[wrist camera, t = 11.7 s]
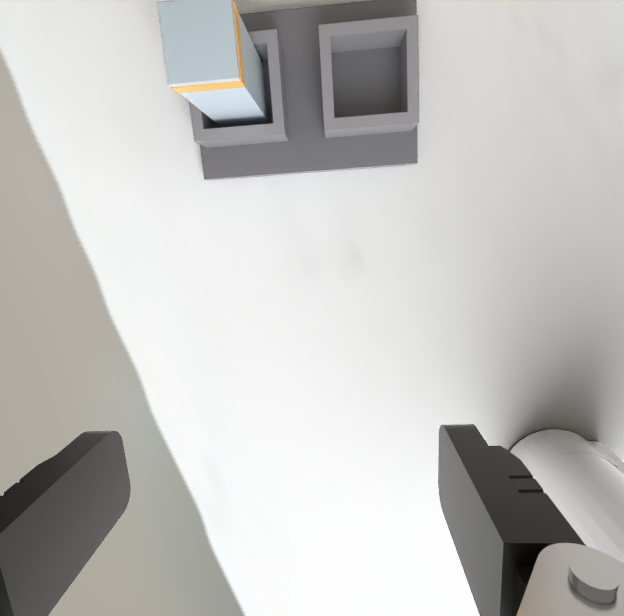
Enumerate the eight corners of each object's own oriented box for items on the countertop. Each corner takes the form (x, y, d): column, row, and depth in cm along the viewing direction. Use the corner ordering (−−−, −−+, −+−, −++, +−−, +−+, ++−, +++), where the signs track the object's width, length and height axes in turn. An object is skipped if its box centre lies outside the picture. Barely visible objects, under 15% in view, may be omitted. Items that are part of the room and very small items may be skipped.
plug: (265, 68, 32) (231, -7, 21) (270, 123, 32) (239, 78, 22) (215, 73, 32) (155, 1, 21) (221, 127, 33) (167, 85, 22)
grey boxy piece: (413, 3, 31) (425, -28, 27) (414, 164, 34) (425, 157, 30) (189, 25, 32) (169, -1, 28) (208, 180, 35) (192, 175, 31)
